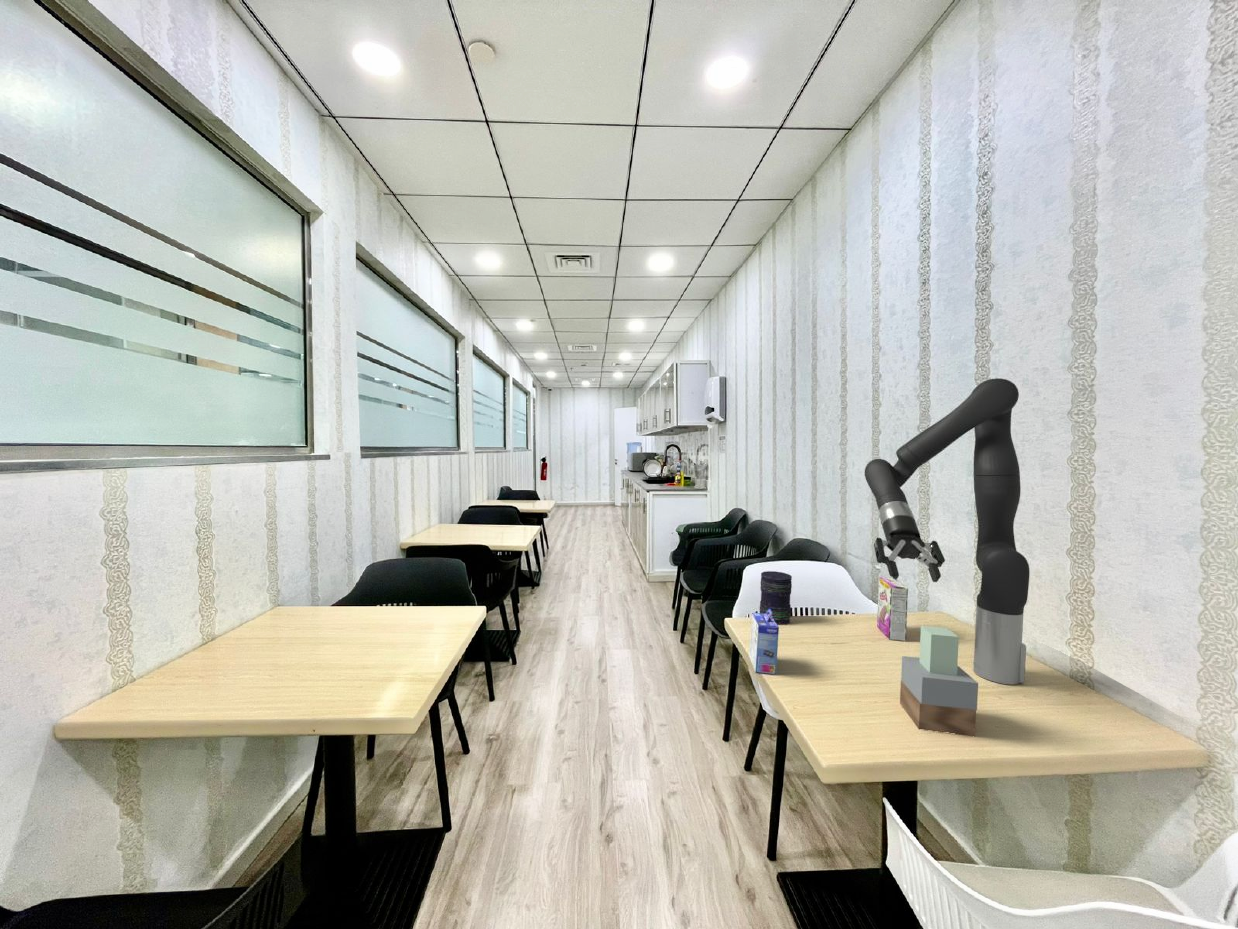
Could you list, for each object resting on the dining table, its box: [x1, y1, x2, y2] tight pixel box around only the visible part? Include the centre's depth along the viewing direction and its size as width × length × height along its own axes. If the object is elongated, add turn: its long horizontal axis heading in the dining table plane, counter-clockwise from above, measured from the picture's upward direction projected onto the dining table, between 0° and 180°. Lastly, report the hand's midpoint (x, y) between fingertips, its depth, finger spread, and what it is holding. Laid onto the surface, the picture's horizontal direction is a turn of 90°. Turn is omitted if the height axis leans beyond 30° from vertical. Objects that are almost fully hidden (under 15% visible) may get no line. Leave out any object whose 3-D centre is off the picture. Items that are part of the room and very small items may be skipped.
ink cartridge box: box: [748, 609, 780, 675], centre depth 121 cm, size 10×6×14 cm, turn 174°
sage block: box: [919, 625, 960, 676], centre depth 98 cm, size 5×5×8 cm
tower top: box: [900, 655, 979, 711], centre depth 98 cm, size 10×10×6 cm
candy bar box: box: [876, 576, 909, 642], centre depth 145 cm, size 11×5×16 cm, turn 168°
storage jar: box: [759, 570, 793, 626], centre depth 155 cm, size 10×10×15 cm
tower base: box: [899, 680, 977, 737], centre depth 98 cm, size 10×10×6 cm
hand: (916, 579), depth 109 cm, fingers open, 8 cm apart
